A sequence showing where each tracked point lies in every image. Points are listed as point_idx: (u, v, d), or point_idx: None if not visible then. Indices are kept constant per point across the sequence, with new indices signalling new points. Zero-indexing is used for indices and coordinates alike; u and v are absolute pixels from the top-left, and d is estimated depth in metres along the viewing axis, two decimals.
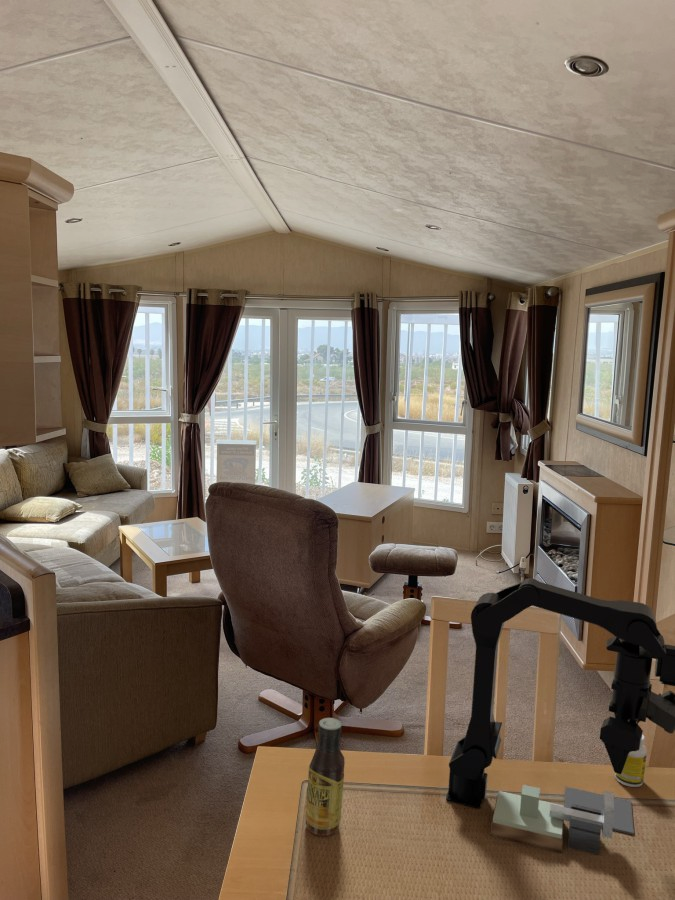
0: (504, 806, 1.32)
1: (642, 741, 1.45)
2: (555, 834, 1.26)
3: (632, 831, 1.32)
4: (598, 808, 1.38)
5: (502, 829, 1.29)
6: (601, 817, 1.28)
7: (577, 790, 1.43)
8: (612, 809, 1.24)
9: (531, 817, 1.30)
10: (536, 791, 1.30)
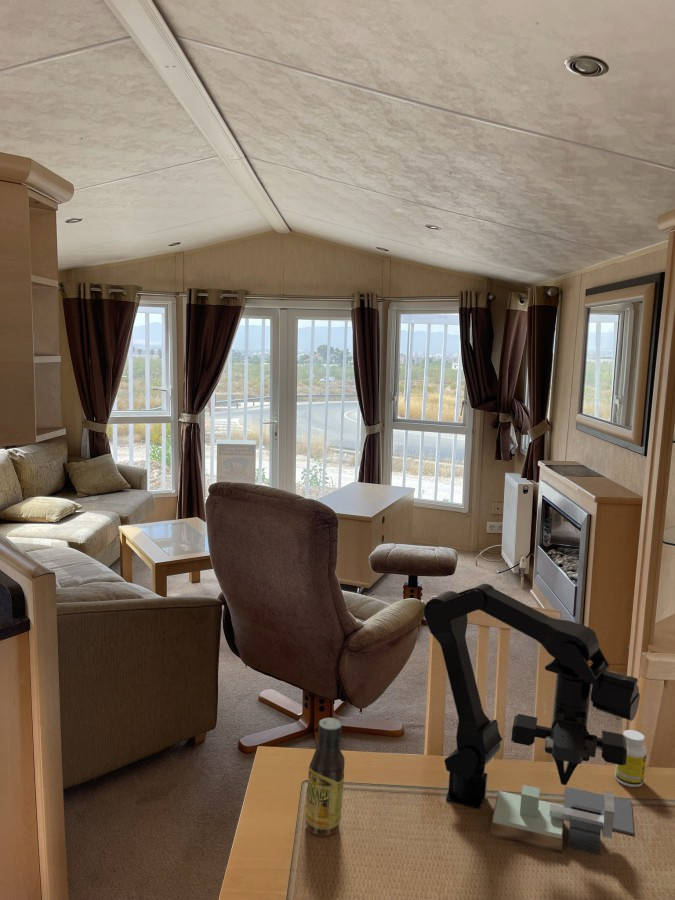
0: (504, 806, 1.32)
1: (642, 741, 1.45)
2: (555, 834, 1.26)
3: (632, 831, 1.32)
4: (598, 808, 1.38)
5: (502, 829, 1.29)
6: (601, 817, 1.28)
7: (577, 790, 1.43)
8: (612, 809, 1.24)
9: (531, 817, 1.30)
10: (536, 791, 1.30)
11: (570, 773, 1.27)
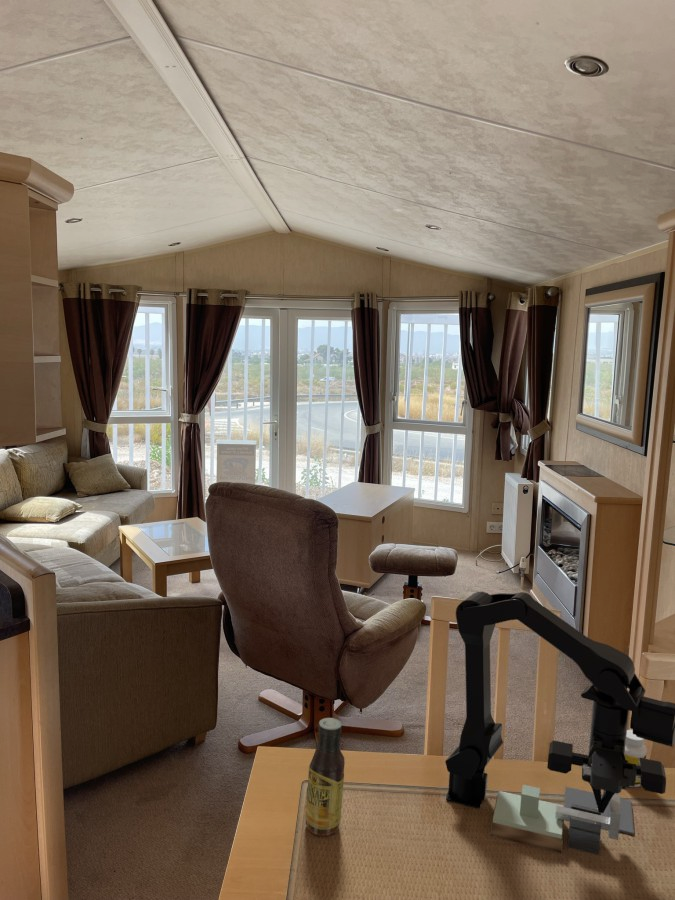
0: (504, 806, 1.32)
1: (642, 741, 1.45)
2: (555, 834, 1.26)
3: (632, 831, 1.32)
4: None
5: (502, 829, 1.29)
6: (607, 818, 1.27)
7: (577, 790, 1.43)
8: (618, 810, 1.24)
9: (531, 817, 1.30)
10: (536, 791, 1.30)
11: (607, 801, 1.25)
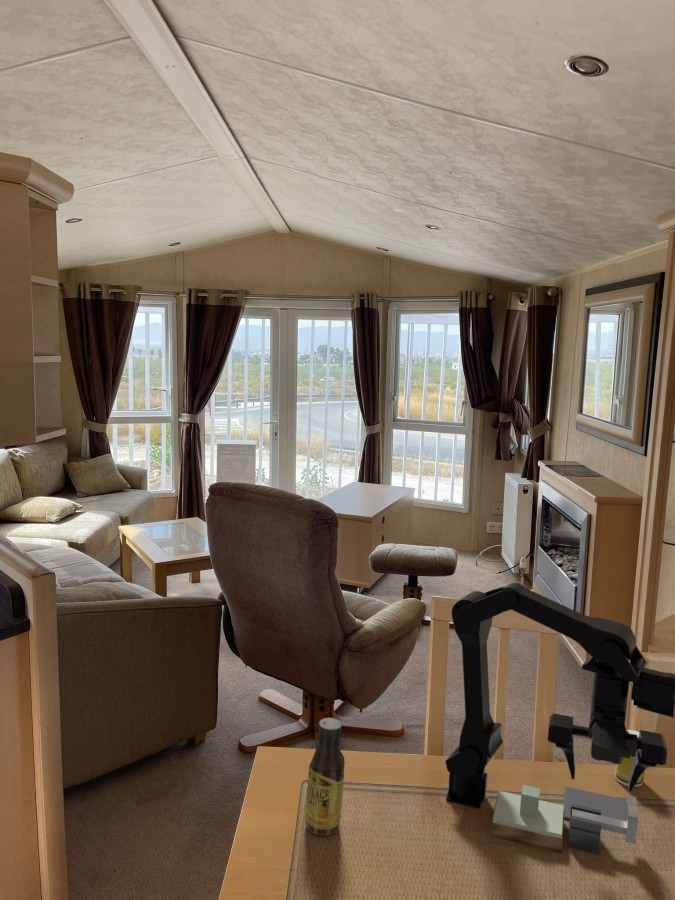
0: (504, 806, 1.32)
1: None
2: (555, 834, 1.26)
3: None
4: (598, 808, 1.38)
5: (502, 829, 1.29)
6: (624, 822, 1.26)
7: (577, 790, 1.43)
8: (636, 814, 1.23)
9: (531, 817, 1.30)
10: (536, 791, 1.30)
11: (636, 779, 1.23)
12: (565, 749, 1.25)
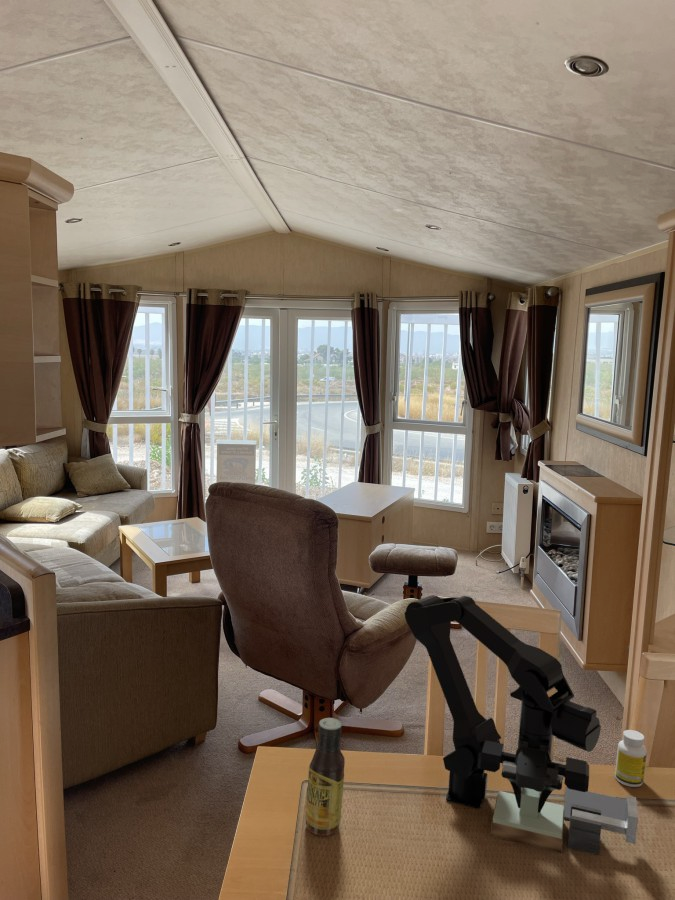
0: (504, 806, 1.32)
1: (642, 741, 1.45)
2: (555, 834, 1.26)
3: None
4: (598, 808, 1.38)
5: (502, 829, 1.29)
6: (624, 822, 1.26)
7: None
8: (636, 814, 1.23)
9: (531, 817, 1.30)
10: (536, 791, 1.30)
11: (543, 801, 1.29)
12: (511, 779, 1.29)
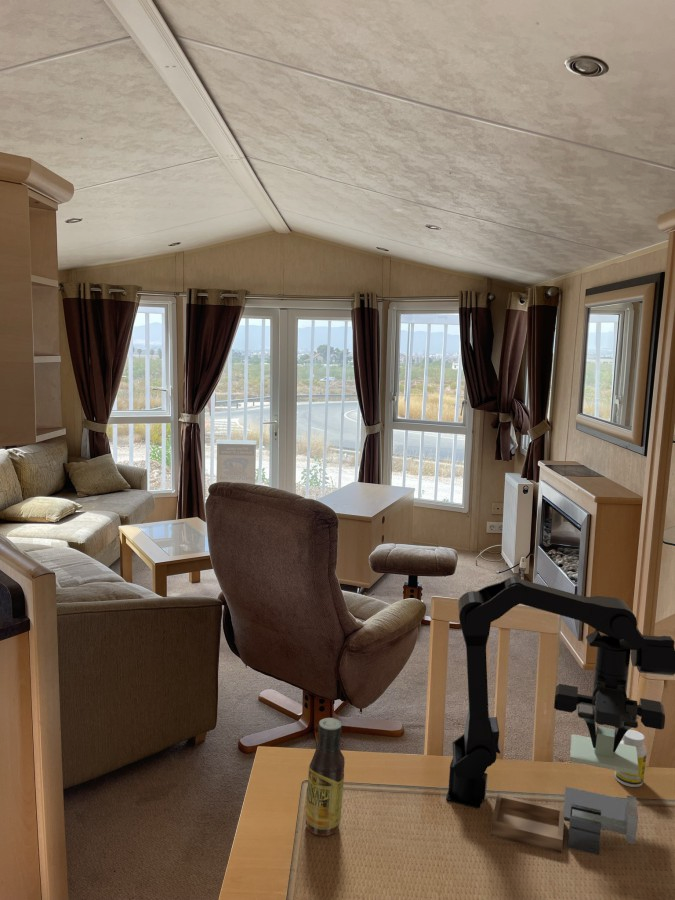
0: (579, 747, 1.37)
1: (642, 741, 1.45)
2: (632, 771, 1.30)
3: None
4: (598, 808, 1.38)
5: (502, 829, 1.29)
6: (624, 822, 1.26)
7: (577, 790, 1.43)
8: (636, 814, 1.23)
9: (606, 756, 1.34)
10: (611, 732, 1.35)
11: (619, 740, 1.34)
12: (587, 719, 1.34)
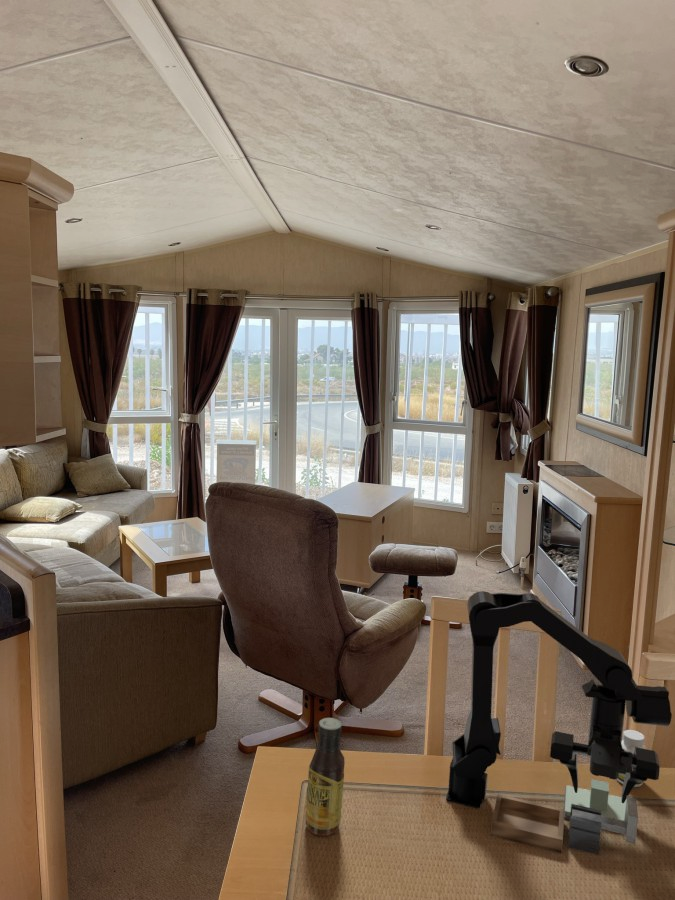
0: (574, 800, 1.39)
1: (642, 741, 1.45)
2: None
3: None
4: None
5: (502, 829, 1.29)
6: (624, 822, 1.26)
7: None
8: (636, 814, 1.23)
9: (601, 810, 1.36)
10: (606, 786, 1.37)
11: (628, 792, 1.34)
12: (569, 765, 1.36)
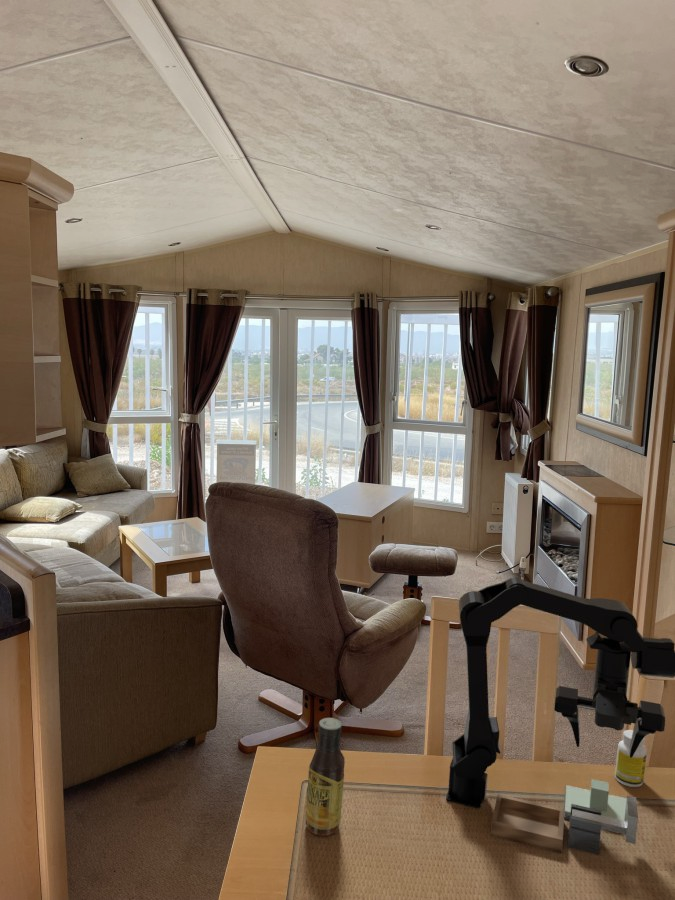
0: (574, 800, 1.39)
1: (642, 741, 1.45)
2: None
3: None
4: None
5: (502, 829, 1.29)
6: (624, 822, 1.26)
7: None
8: (636, 814, 1.23)
9: (601, 810, 1.36)
10: (606, 786, 1.37)
11: (636, 746, 1.33)
12: (570, 718, 1.35)
